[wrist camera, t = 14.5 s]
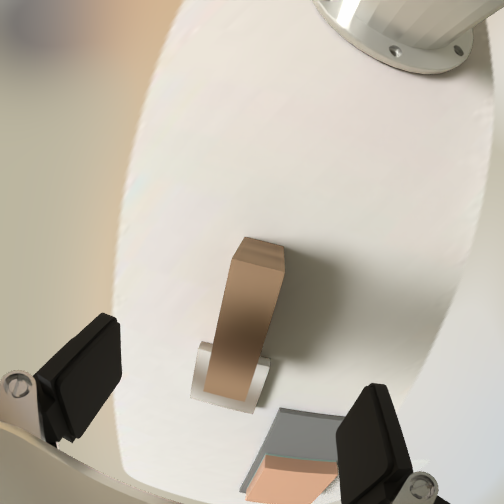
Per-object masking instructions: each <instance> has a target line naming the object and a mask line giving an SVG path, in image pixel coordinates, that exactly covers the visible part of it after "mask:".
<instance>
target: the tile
mask: <svg viewBox="0 0 504 504" xmlns="http://www.w3.org/2000/svg"><path fill="white" fill-rule="evenodd" d="M337 475H338V470H337V462H336V461H333V460H318V459H307V458H297V457H289V456H281V455H274V454H268V453H266V454H265V456H264V457H263V459H262V461H261V463H260V465H259V467H258V469H257V471H256V473H255V474H254V476H253V478H252V480H251V482H250V483H249V485H248V487H247V491H246V498H245V500H246V501H252V502H259V503H267V504H311V503H312V502H313V501H314V500H315V499H316V498H317V497H318V496H319V495H320V494H321V493H322V492H323V491H324V490H325V488H326V487H327V486H328V485H329V484H330V483H331V482H332V481H333V480H334V479H335V477H336V476H337Z"/></svg>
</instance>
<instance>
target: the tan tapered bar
mask: <svg viewBox="0 0 504 504" xmlns="http://www.w3.org/2000/svg"><path fill="white" fill-rule="evenodd" d="M284 274H285V262H284V247H283V246H280V245H276V244H272V243H268V242H264V241H260V240H256V239H252V238H248V237H244V239H243V241H242V242H241V244H240V246H239V247H238V249H237V251H236V252H235V254H234V256H233V258H232V260H231V265H230V269H229V273H228V278H227V282H226V287H225V291H224V296H223V300H222V305H221V310H220V314H219V319H218V323H217V328H216V333H215V337H214V342H213V344H210V343H206V342H203V341H202V342H201V344H200V346H199V348H198V352H197V358H196V364H195V370H194V375H193V381H192V387H191V393H190V398H192V399H195V400H199V401H202V402H206V403H209V404H213V405H217V406H220V407H224V408H228V409H232V410H237V411H241V412H245V413H250V414H253V412H254V410H255V407H256V404H257V402H258V399H259V396H260V394H261V391H262V388H263V385H264V383H265V380H266V377H267V374H268V371H269V369H270V361H271V359H269V358H265V357H260V354H261V351H262V348H263V344H264V341H265V338H266V335H267V331H268V328H269V325H270V322H271V318H272V315H273V312H274V308H275V305H276V302H277V298H278V295H279V292H280V288H281V285H282V281H283V278H284Z"/></svg>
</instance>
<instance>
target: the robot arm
mask: <svg viewBox="0 0 504 504" xmlns="http://www.w3.org/2000/svg"><path fill="white" fill-rule="evenodd" d="M312 1H313V3H314V4H315V6H316V8H317V9H318V11H319V13H320V14H321V15H322V16H323V18H324V19H325V20H326V21H327V22H328V24H329V25H330V26H331V27H332V28H333V29H334V30H335V31H337V32H338V33H339V34H340V35H341V36H342V37H343V38H344V39H346V40H347V41H348V42H350V43H351V44H353V45H354V46H355V47H357V48H358V49H359V50H361V51H363V52H365V53H366V54H368V55H370V56H372V57H373V58H375V59H377V60H379V61H381V62H384V63H386V64H388V65H390V66H393V67H395V68H399V69H402V70H406V71H409V72H414V73H421V74H439V73H443V72H446V71H450V70H451V69H453V68H455V67H457V66H459V65H460V64H462V63H463V62H464V61H465V60H466V59H467V58H468V56H469V54H470V52H471V50H472V45H473V27H474V26H476V25H477V24H479V23H480V22H482V21H483V20H485V19H486V18H488V17H489V16H491V15H492V14H494V13H495V12H497V11H498V10H499V9H501V8H503V7H504V0H312ZM392 54H393V55H392ZM121 377H122V365H121V340H120V324H119V323H118V322H117V319H116V318H115V317H113V316H110V315H107V314H105V313H101V314H100V315H99V316H98V317H96V318H95V319H94V320H93V321H92V322H91V323H90V324H89V325H87V326H86V327H85V328H84V329H83V330H82V331H81V332H80V333H79V334H78V335H77V336H75V337H74V338H72V339H71V340H70V341H69V342H68V343H67V344H66V345H65V346H64V347H63V348H61V349H60V350H59V351H58V352H57V353H56V354H55V355H54V356H53V357H52V358H51V359H50V360H49V361H48V362H47V363H46V364H45V365H44V366H43V367H42V368H41V369H40V370H39V371H38V372H37V373H35V374H34V375H33V376H32V375H30V374H29V373H28V372H25V371H22V370H14V371H11V372H8V373H7V374H5V375H4V376H3V378H2V379H1V381H0V504H181V503H179V502H175V501H172V500H169V499H166V498H163V497H160V496H157V495H154V494H152V493H149V492H146V491H143V490H141V489H138V488H136V487H133V486H131V485H128V484H126V483H124V482H121V481H119V480H117V479H114V478H112V477H110V476H108V475H106V474H104V473H102V472H100V471H98V470H95V469H94V468H92V467H90V466H88V465H86V464H84V463H82V462H80V461H78V460H76V459H75V458H73V457H71V456H69V455H67V454H66V453H64V452H62V451H60V448H59V443H58V442H59V441H60V440H61V439H62V437H63V438H65V439H66V440H68V441H70V442H72V443H73V441H74V440H75V438H80V437H81V436H82V435H83V433H84V432H85V431H86V429H87V427H88V426H89V425H90V423H91V422H92V420H93V419H94V417H95V416H96V414H97V413H98V412H99V410H100V409H101V407H102V406H103V404H104V403H105V401H106V400H107V399H108V397H109V396H110V394H111V393H112V392H113V390H114V389H115V387H116V386H117V384H118V383H119V382H120V380H121ZM336 446H337V456H338V467H339V478H340V491H341V503H342V504H450V503H448V502H447V501H445V500H443V499H442V498H441V497H439V496H437V494H438V484H437V482H436V480H435V479H434V477H432V476H431V475H430V474H428V473H426V472H420V471H419V472H414V473H413V469H412V468H413V467H412V464H411V460H410V457H409V454H408V450H407V447H406V443H405V440H404V437H403V434H402V430H401V427H400V424H399V421H398V418H397V415H396V412H395V409H394V406H393V403H392V400H391V397H390V394H389V392H388V389H387V386H386V385H385V384H376V383H371V384H370V385H369V386H366V387H364V389H363V390H362V392H361V394H360V395H359V397H358V398H357V400H356V402H355V403H354V405H353V406H352V408H351V409H350V411H349V412H348V414H347V415H346V417H345V418H344V420H343V421H342V423H341V424H340V425H339V427H338V428H337V431H336Z"/></svg>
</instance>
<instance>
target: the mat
mask: <svg viewBox="0 0 504 504" xmlns="http://www.w3.org/2000/svg"><path fill="white" fill-rule="evenodd" d="M344 418H345V417H340V416H331V415H323V414H315V413H308V412H301V411H295V410H289V409H283V408H279V411H278V413H277V415H276V417H275V419H274V422H273V424H272V426H271V428H270V430H269V432H268V434H267V437H266V439H265V441H264V443H263V445H262V447H261V449H260V451H259V453H258V455H257V457H256V459H255V461H254V463H253V465H252V467H251V469H250V471H249V473H248V475H247V477H246V478H245V480H244V482H243V484H242V486H241V488H240V491H239V492H241V493H246V491H247V487H248V485H249V483H250V482H251V480H252V478H253V476H254V474H255V473H256V471H257V469H258V467H259V465H260V463H261V461H262V459H263V457H264V456H265V454H266V453H268V454H274V455H281V456H289V457H297V458H307V459H318V460H333V461H336V462H337V465H338V456H337V446H336V431H337V428H338V427H339V425H340V424H341V423H342V421H343V420H344Z"/></svg>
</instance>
